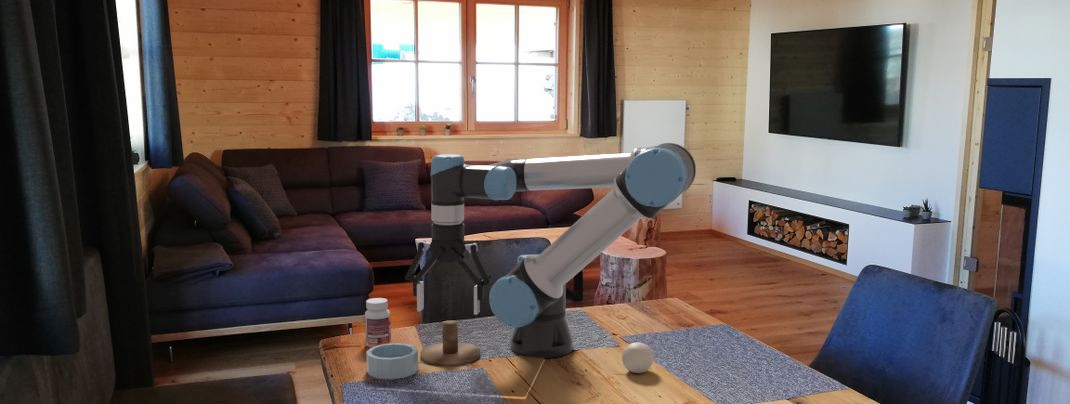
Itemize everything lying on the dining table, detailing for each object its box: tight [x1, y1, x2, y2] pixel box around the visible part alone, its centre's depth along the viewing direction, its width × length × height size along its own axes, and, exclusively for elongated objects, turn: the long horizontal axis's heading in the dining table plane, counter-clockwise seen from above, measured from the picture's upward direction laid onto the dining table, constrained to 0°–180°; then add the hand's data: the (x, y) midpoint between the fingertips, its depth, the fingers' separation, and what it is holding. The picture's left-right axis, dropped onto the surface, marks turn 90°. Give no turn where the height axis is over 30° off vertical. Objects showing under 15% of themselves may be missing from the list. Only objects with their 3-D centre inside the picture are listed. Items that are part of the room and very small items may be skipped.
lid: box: [419, 319, 481, 367], centre depth 201 cm, size 14×14×8 cm
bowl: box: [365, 342, 419, 380], centre depth 191 cm, size 11×11×5 cm
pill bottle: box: [364, 297, 392, 348], centre depth 210 cm, size 6×6×11 cm
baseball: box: [621, 341, 654, 374], centre depth 191 cm, size 7×7×7 cm
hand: (448, 311), depth 200 cm, fingers open, 13 cm apart
